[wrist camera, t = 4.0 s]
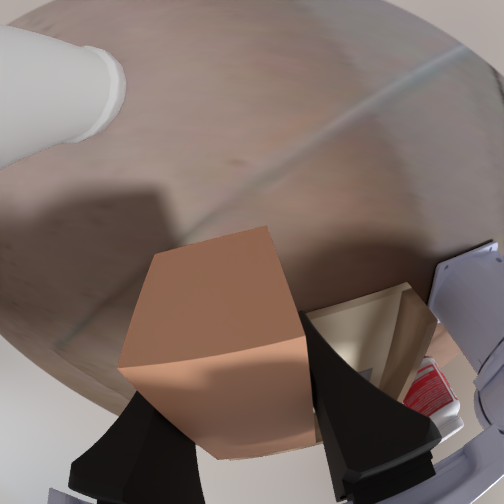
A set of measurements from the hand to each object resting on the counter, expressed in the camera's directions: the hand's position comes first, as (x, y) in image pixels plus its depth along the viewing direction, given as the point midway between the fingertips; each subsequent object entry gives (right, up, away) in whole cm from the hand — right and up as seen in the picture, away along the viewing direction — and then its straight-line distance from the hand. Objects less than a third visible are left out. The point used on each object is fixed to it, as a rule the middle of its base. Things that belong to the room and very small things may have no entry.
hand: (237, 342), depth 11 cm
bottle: (-8, +12, 0) cm, 15 cm away
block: (0, +1, +1) cm, 2 cm away
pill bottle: (+22, -12, +17) cm, 30 cm away
